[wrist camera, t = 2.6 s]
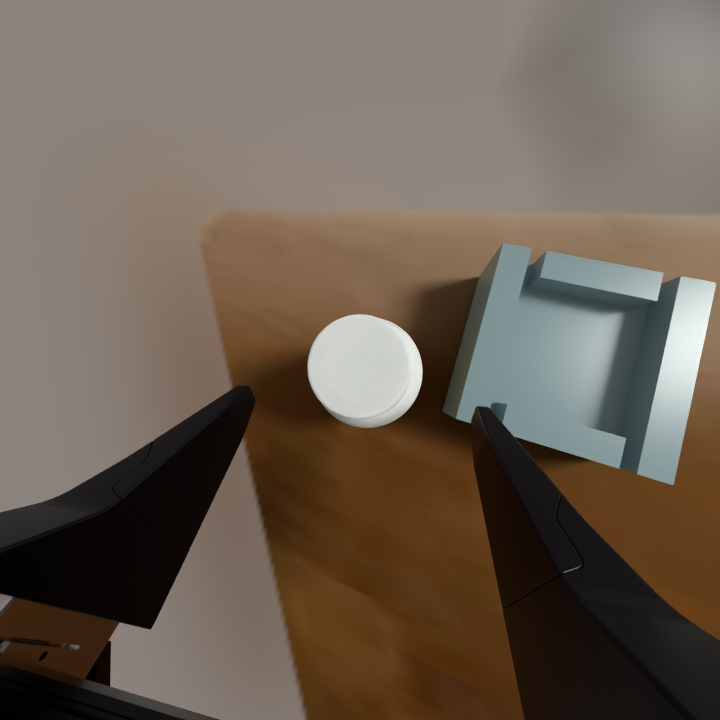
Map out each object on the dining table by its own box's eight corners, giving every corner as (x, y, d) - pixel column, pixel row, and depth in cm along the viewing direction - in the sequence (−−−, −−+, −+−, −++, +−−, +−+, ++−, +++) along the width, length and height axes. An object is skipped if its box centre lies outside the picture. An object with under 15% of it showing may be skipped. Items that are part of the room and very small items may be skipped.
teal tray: (600, 459, 17) (673, 485, 12) (442, 411, 18) (455, 418, 14) (635, 310, 17) (716, 282, 13) (479, 276, 19) (503, 242, 15)
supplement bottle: (372, 430, 19) (345, 471, 10) (326, 372, 20) (261, 358, 11) (430, 382, 19) (462, 375, 9) (382, 326, 20) (366, 269, 10)
